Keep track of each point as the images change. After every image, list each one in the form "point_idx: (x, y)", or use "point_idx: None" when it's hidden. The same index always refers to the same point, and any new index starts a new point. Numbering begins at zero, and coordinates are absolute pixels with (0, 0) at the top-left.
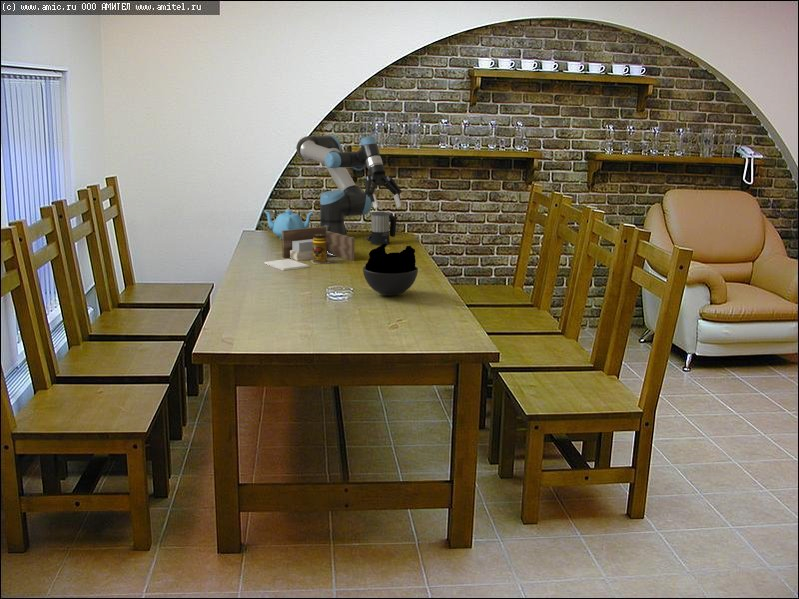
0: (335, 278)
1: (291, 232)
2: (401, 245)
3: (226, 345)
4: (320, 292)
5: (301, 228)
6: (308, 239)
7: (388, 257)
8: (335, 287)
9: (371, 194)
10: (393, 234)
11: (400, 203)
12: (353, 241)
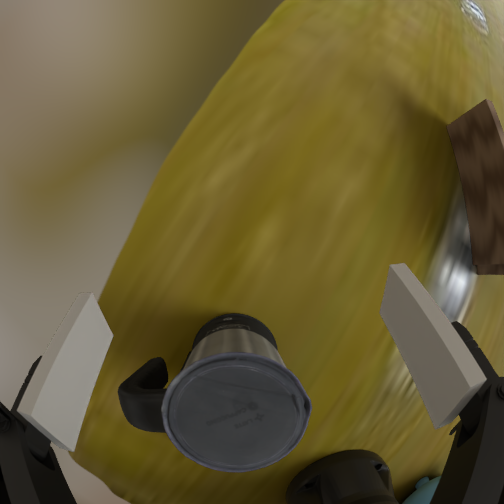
0: (482, 51)
1: None
2: (174, 269)
3: None
4: (492, 29)
5: (431, 494)
6: None
7: None
8: (480, 27)
9: (493, 385)
10: (159, 359)
11: (71, 312)
12: (481, 104)
